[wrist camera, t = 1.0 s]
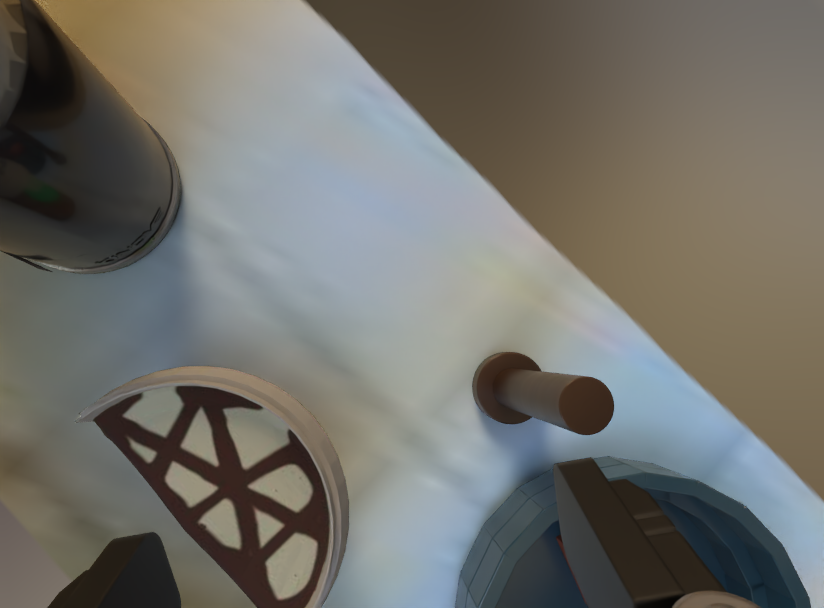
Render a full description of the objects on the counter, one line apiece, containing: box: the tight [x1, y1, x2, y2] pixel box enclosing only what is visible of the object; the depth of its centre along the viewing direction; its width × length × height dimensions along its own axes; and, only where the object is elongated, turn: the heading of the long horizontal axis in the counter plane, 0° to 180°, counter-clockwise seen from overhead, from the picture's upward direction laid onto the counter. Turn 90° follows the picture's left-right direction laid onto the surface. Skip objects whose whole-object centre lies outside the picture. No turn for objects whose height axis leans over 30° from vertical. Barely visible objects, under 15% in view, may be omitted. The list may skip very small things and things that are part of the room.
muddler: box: [472, 352, 614, 435], centre depth 26 cm, size 4×4×11 cm
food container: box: [75, 366, 349, 608], centre depth 25 cm, size 12×6×10 cm, turn 41°
